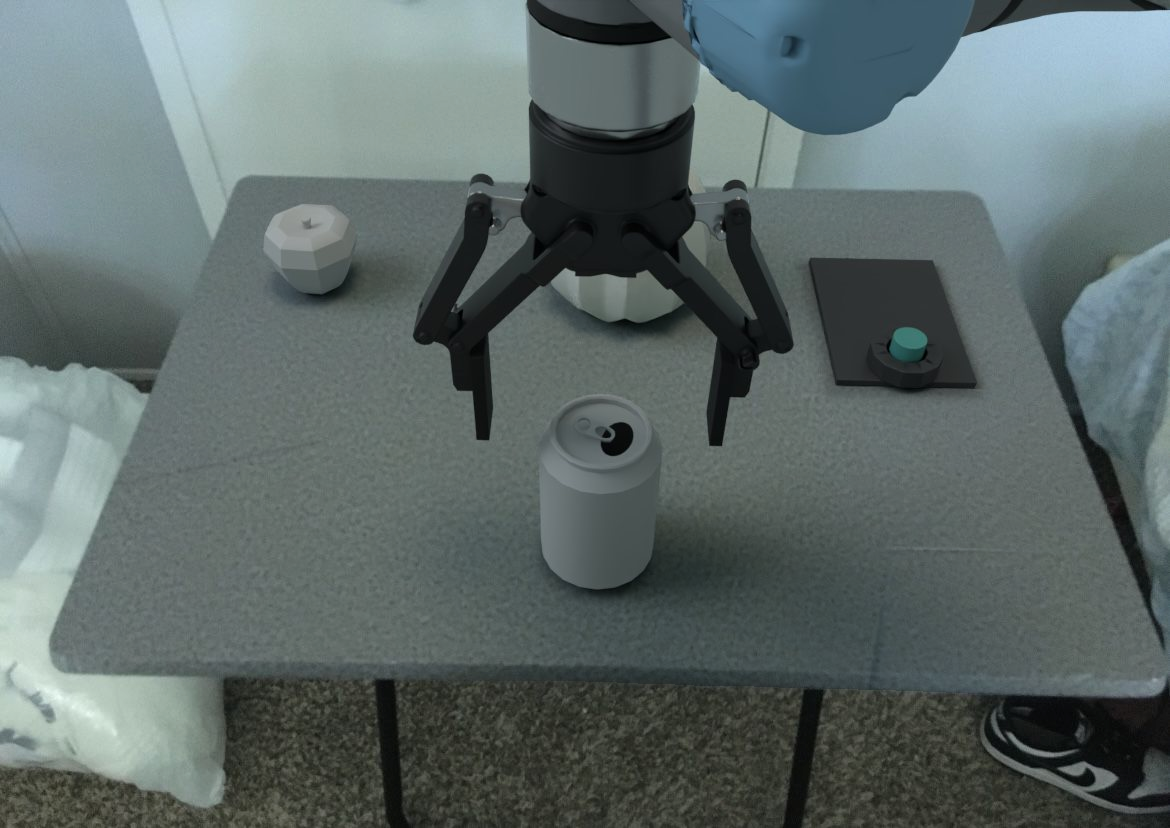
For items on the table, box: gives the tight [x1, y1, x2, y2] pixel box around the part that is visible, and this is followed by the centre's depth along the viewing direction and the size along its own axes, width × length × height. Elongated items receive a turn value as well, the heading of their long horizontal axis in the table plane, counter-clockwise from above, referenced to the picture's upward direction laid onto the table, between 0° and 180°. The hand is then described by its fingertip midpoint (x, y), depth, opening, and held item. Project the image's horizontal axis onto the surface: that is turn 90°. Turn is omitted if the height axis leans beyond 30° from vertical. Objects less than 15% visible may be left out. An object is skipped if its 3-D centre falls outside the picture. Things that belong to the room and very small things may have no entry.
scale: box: [808, 257, 978, 389], centre depth 86 cm, size 17×11×2 cm, turn 179°
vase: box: [550, 168, 712, 324], centre depth 84 cm, size 14×14×13 cm
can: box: [538, 393, 664, 590], centre depth 65 cm, size 8×8×12 cm
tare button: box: [889, 327, 927, 363], centre depth 81 cm, size 3×3×2 cm
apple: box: [262, 203, 359, 295], centre depth 87 cm, size 8×8×7 cm
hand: (599, 427), depth 61 cm, fingers open, 13 cm apart
